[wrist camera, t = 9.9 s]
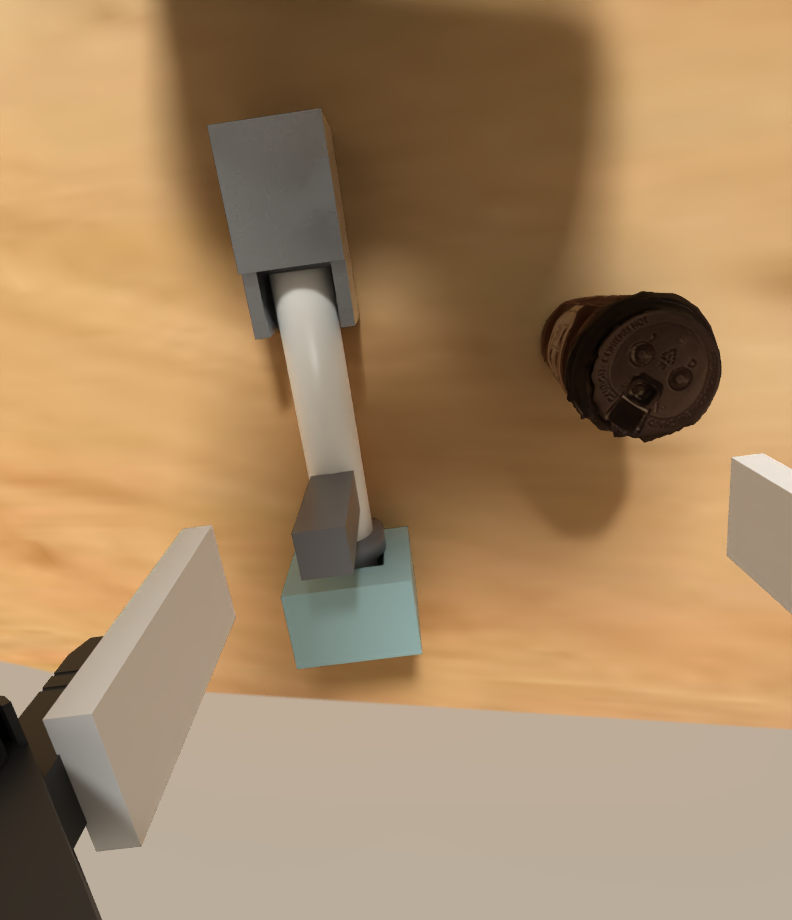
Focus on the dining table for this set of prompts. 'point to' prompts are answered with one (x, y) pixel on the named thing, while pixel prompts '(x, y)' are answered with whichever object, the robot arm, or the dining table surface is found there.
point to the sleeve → (283, 207)
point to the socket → (355, 610)
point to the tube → (324, 431)
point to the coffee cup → (634, 361)
